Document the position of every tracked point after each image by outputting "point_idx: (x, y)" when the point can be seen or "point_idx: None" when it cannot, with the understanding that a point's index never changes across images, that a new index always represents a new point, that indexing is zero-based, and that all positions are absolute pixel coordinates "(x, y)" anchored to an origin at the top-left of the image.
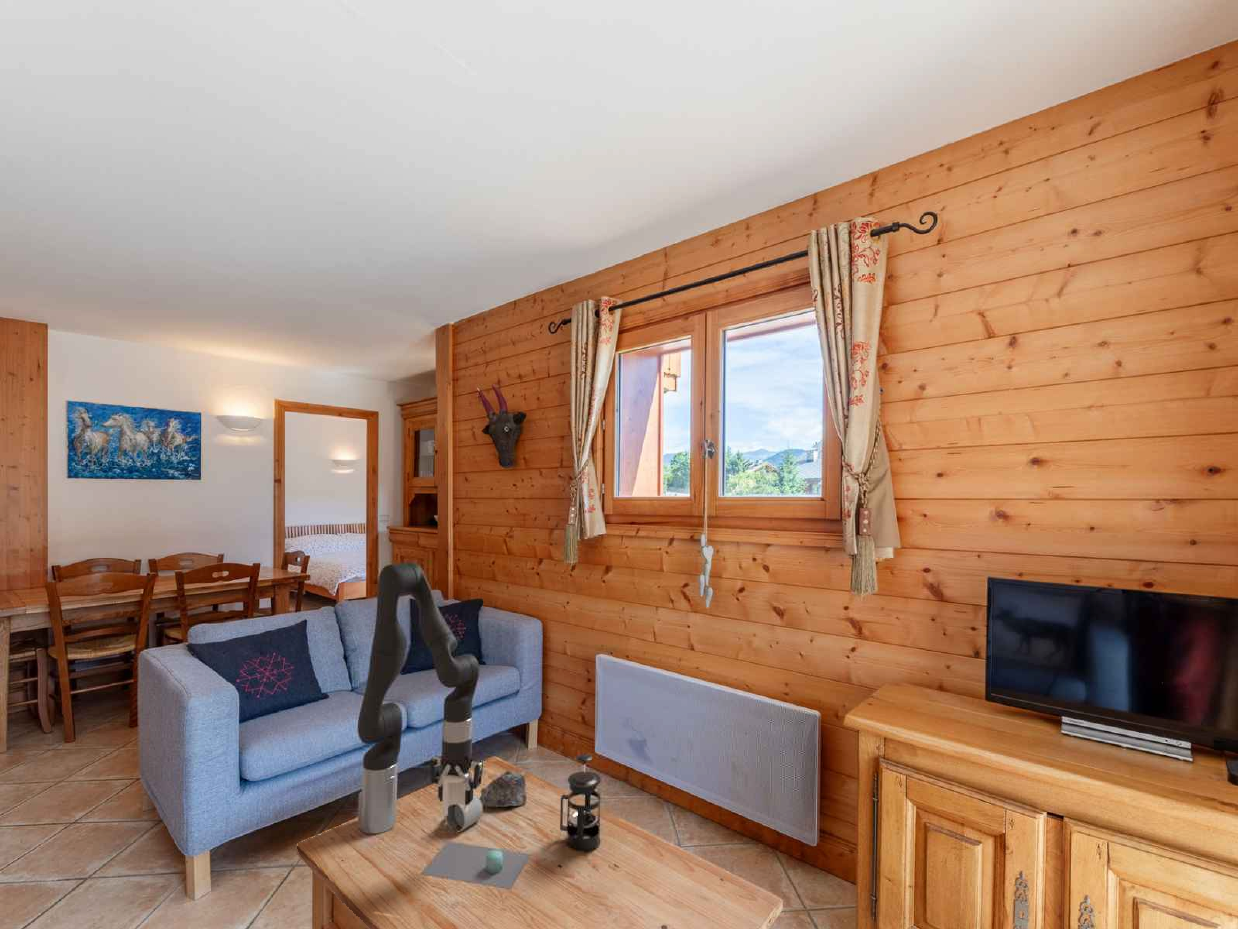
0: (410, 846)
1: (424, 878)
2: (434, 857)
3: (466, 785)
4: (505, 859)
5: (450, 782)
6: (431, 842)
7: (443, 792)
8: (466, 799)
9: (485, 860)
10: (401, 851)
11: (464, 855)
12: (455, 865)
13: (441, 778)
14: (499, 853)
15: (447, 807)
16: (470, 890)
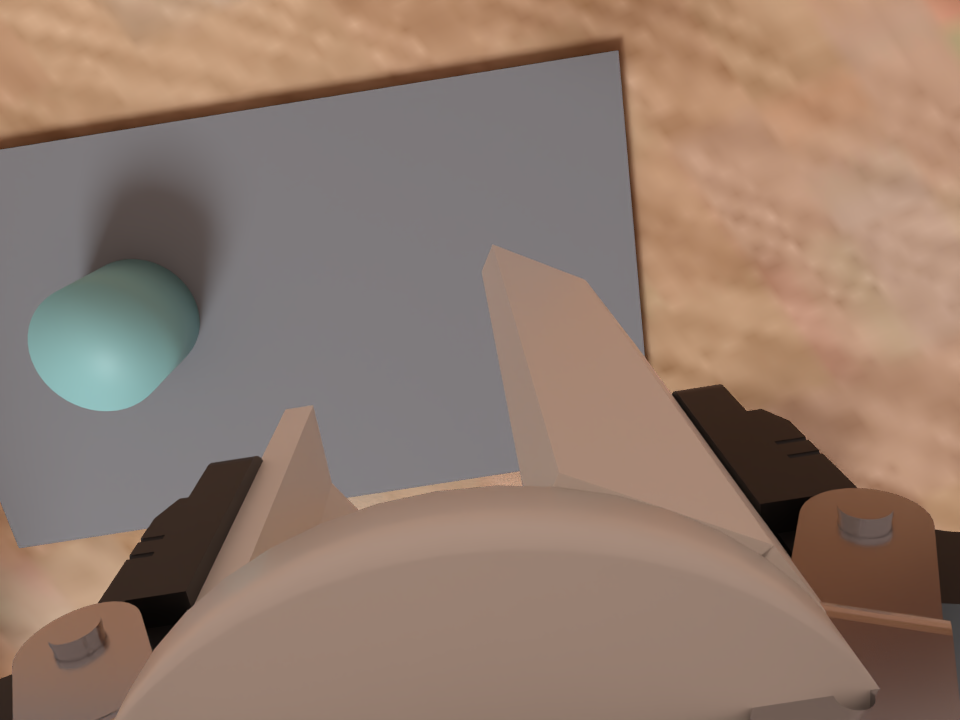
0: (885, 315)
1: (562, 37)
2: (632, 261)
3: (99, 681)
4: (141, 436)
5: (420, 506)
6: (764, 409)
7: (643, 385)
8: (203, 500)
9: (261, 374)
10: (918, 241)
11: (438, 363)
12: (426, 243)
13: (896, 615)
14: (73, 380)
15: (491, 294)
16: (147, 55)
